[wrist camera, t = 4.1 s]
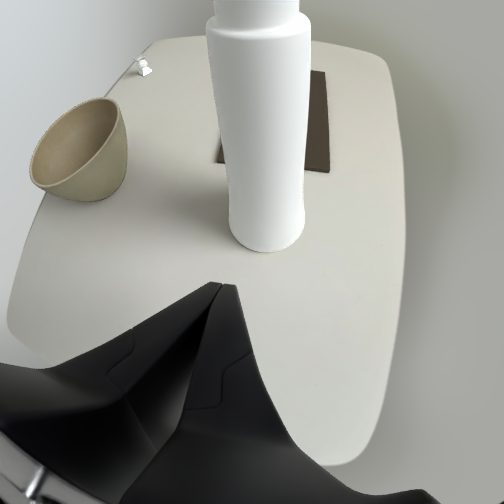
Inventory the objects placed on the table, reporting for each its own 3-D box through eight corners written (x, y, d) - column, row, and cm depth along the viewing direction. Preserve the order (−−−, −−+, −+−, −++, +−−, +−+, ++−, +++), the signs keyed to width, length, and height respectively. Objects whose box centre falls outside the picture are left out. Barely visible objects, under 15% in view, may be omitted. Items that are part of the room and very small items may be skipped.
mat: (329, 172, 23) (329, 170, 23) (217, 163, 24) (216, 160, 24) (324, 74, 28) (324, 71, 27) (244, 68, 29) (244, 66, 28)
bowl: (91, 243, 22) (42, 210, 15) (59, 189, 25) (22, 155, 18) (167, 169, 24) (139, 117, 17) (121, 129, 27) (95, 86, 20)
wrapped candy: (147, 68, 31) (141, 53, 28) (152, 70, 31) (146, 55, 28) (138, 73, 31) (132, 59, 28) (143, 75, 30) (137, 60, 28)
